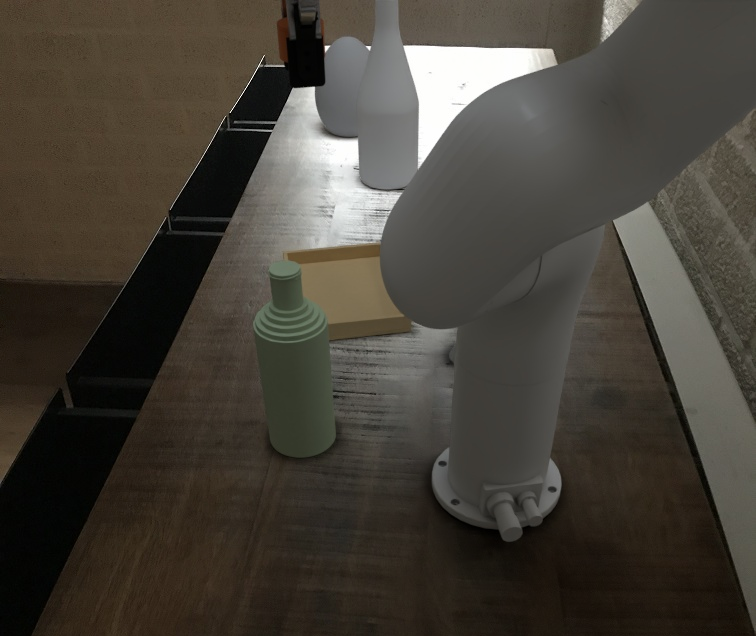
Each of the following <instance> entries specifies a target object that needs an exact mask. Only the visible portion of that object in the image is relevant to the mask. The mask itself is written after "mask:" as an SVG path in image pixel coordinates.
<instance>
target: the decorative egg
mask: <svg viewBox="0 0 756 636" xmlns="http://www.w3.org/2000/svg"><path fill="white" fill-rule="evenodd" d="M369 52H370V49H369V48H368V46H366V45H365V43H363V42H362V41H361V40H360V39H358V38H356V37H354V36H349V35H347V36H341V37H339V38H338V39H335V41H333V42H332V44H330V45H329V47H328V48H327V49H326V50H325V58H324V62H325V85H324V86H319V87H314V101H315V106H316V111H317V114H318V116H319V119H320V121H321V123H322V124H323V126H324V127H325V128H326V130H327V131H328V132H329V133H330V134H332V135H335V136H337V137H344V138H353V137H358V127H357V98H358V94H359V89H360V85H361V82H362V78H363V75H364V71H365V67H366V64H367V60H368V56H369Z"/></svg>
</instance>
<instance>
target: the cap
mask: <svg viewBox="0 0 756 636" xmlns="http://www.w3.org/2000/svg"><path fill="white" fill-rule="evenodd" d="M320 19H321V33H322V35H323V43H324V58H325V52H326V41H325V23H324V20H323V18H321V17H320ZM276 31H277V32H276V33H277V45H278V55H279V59H280V61H282V62H283V63H284V62H287V63H288V56H287V44H286V37H289V30H288V19H287V17H285V18H282V17H281V18H280V19H278V20H277V21H276Z"/></svg>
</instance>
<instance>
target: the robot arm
mask: <svg viewBox="0 0 756 636" xmlns="http://www.w3.org/2000/svg"><path fill="white" fill-rule="evenodd" d="M274 1H275V2H276V1H279V0H274ZM280 10H281V19H282V18H285V17H287V19H288V30H289V37H286V44H287V56H288V63H287V62H284V61H283V65H284V69H285V70H286V71H288V80H289V81H288V82H289V85H290V87H291V88H292V89H305V88H315V87H319V86H324V85H325V62H324V43H323V35H322V33H321V19H322V18H321V8H320V0H280ZM320 18H321V19H320ZM754 109H756V0H641V1H640V2H639V3H638V4H637V5H636V7H635V8H634V9H633V10H632V11H631V12H630V13H629V14H628V15H627V17H625V19H624V20H623V21H622V22H621V23H620V24H619V26H617V27H616V29H615V30H614V31H613V32H611V33H610V35H609V36H607V37H606V39H604V40H603V41H602V42H601V43H600V44H599V45H597V46H596V47H595V48H593V49H591V50H590V51H589V52H587V53H584V54H582V55H580V56H577V57H575V58H572V59H569V60H567V61H564V62H561V63H559V64H558V63H557V64H555V65H552V66H548V67H546V68H542V69H538V70H536V71H531V72H529V73H526V74H522V75H519V76H517V77H514V78H510V79H508V80H506V81H503V82H501V83H499V84H497V85H495V86H493V87H491V88H489V89H487V90H486V91H484V92H482V93H481V94H479V95H478V96H477V97H475V98H474V99H473V100H472V101H470V103H468V104H467V105H466V106H465V107H464V108H463V109H462V110H460V112H458V114H456V115H455V117H454V118H453V119H452V120H451V122H450V123H449V124H448V126H447V127H446V128H445V130H444V131H443V133H442V134H441V135H440V137H439V138H438V140H437V141H436V143H435V144H434V145H433V147H432V148H431V150H430V151H429V153H428V154H427V156H426V157H425V158H424V160H423V162H422V163H421V165H420V166H419V167H418V171H417V172H416V173H415V175H414V176H413V178H412V179H411V181H410V182H409V184H408V185H407V186H406V187H404V190H403V191H402V192H401V194H400V195H399V197H398V199H397V200H396V202H395V203H394V205H393V207H392V208H391V210H390V212H389V214H388V216H387V219H386V221H385V224H384V226H383V230H382V234H381V239H380V242H381V244H380V269H381V275H382V279H383V283H384V286H385V288H386V291H387V293H388V295H389V297H390V299H391V301H392V302H393V304H394V305H395V306H396V308H397V309H398V310H399V311H400V312H401V313H402V314H403V315H404V316H406V317H407V318H408V319H410V320H411V322H412V323H414V324H416V325H419V326H421V327H424V328H427V329H432V330H452V329H456V335H455V343H456V347H455V360H454V363H453V376H452V377H453V379H452V394H451V395H452V396H451V412H450V428H449V429H450V430H449V444H448V445H449V446H448V447H447V448H445V449H444V450H443V451H442V452H441V454H440V455H439V456H438V457H437V458H436V460H435V461H434V464H433V466H432V471H431V488H432V492H433V494H434V496H435V499H436V500H437V502H438V503H439V505H440V506H441V508H443V509H444V510H445V511H446V512H448V514H449V515H451V516H453V517H454V518H456V519H458V520H459V521H461V522H463V523H466V524H468V525H471V526H474V527H478V528H482V529H489V530H497V531H499V534H500V537H501V539H502V540H503V541H505V542H506V543H507V542H508V543H510V542H511V543H512V542H516V541H517V540H519V539H520V538H521V537H522V536H523V528H525V527H527V526H530V527H537V526H540V525H541V524H543V521H544V520H543V519H544V518H545V517H546V516H548V515H549V514H550V513H551V512H552V511H553V510H554V509H555V507H556V505H557V504H558V502H559V500H560V497H561V491H562V486H563V485H562V476H561V473H560V470H559V467H558V466H557V464H556V463H555V462H554V461H553V459H552V458H551V454H552V449H553V444H554V439H555V432H556V428H557V421H558V417H559V411H560V410H559V409H560V406H561V399H562V393H563V389H564V383H565V377H566V372H567V367H568V362H569V357H570V351H571V347H572V340H573V336H574V331H575V326H576V322H577V318H578V315H579V314H578V313H579V311H580V307H581V304H582V300H583V297H584V295H585V292H586V290H587V287H588V285H589V282H590V280H591V277H592V274H593V273H594V270H595V267H596V264H597V262H598V258H599V256H600V253H601V249H602V246H603V243H604V237H605V232H606V231H605V230H606V224H608V223H612V222H614V221H615V220H617V219H620V218H622V217H623V216H626V215H628V214H630V213H631V212H633V211H635V210H637V209H640V208H641V207H642V206H644V205H645V204H647V203H648V202H650V201H651V200H652V199H653V198H654V197H656V196H657V195H658V194H659V193H660V192H661V191H663V190H664V189H665V188H666V187H667V186H668V185H669V184H670V183H671V182H672V181H673V180H674V179H675V178H676V177H678V176H679V175H680V174H681V173H682V172H683V171H684V170H685V169H686V168H687V167H689V165H691V164H692V163H693V162H695V160H697V159H698V158H699V157H700V156H702V154H704V153H705V152H706V151H707V150H708V149H710V148H711V147H712V146H713V145H715V144H716V143H717V142H719V140H720V139H721V138H722V137H723V136H725V135H727V133H729V131H731V130H732V129H733V128H734V127H735V126H737V125H738V124H739V123H740V122H741V121H743V119H745V118H746V117H747V116H748V115H749V114H750V113H751V112H752V111H754Z"/></svg>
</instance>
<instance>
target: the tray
mask: <svg viewBox="0 0 756 636" xmlns="http://www.w3.org/2000/svg"><path fill="white" fill-rule="evenodd" d="M380 244H381V241H378V242H368V243H358V244H347V245H337V246H336V245H335V246H327V247H325V246H324V247H316V248H306V249H295V250H285V251H282V261H283V260H289V261H294V262H296V263H298V264H299V265H300V266H301V272H302V275H301V281H302V292H303V296H304V297H306V298H308V299H309V300H311V301H312V302H314V303H315V304H317V305H319V306H320V307H321V308H322V309H323V311H324V313H325V314H326V316H327V319H328V331H329V341H335V340H345V339H353V338H364V337H371V336H382V335H389V334H401V333H408V332H409V333H410V332H412V321H411V320H410V319H408V318H407V317H406V316H404V315H403V314H402V313H401V312H400V311H399V310H398V309H397V308H396V306H395V305H394V304H393V302H392V301H391V299H390V297H389V295H388V293H387V291H386V288H385V286H384V283H383V279H382V275H381V269H380Z"/></svg>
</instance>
